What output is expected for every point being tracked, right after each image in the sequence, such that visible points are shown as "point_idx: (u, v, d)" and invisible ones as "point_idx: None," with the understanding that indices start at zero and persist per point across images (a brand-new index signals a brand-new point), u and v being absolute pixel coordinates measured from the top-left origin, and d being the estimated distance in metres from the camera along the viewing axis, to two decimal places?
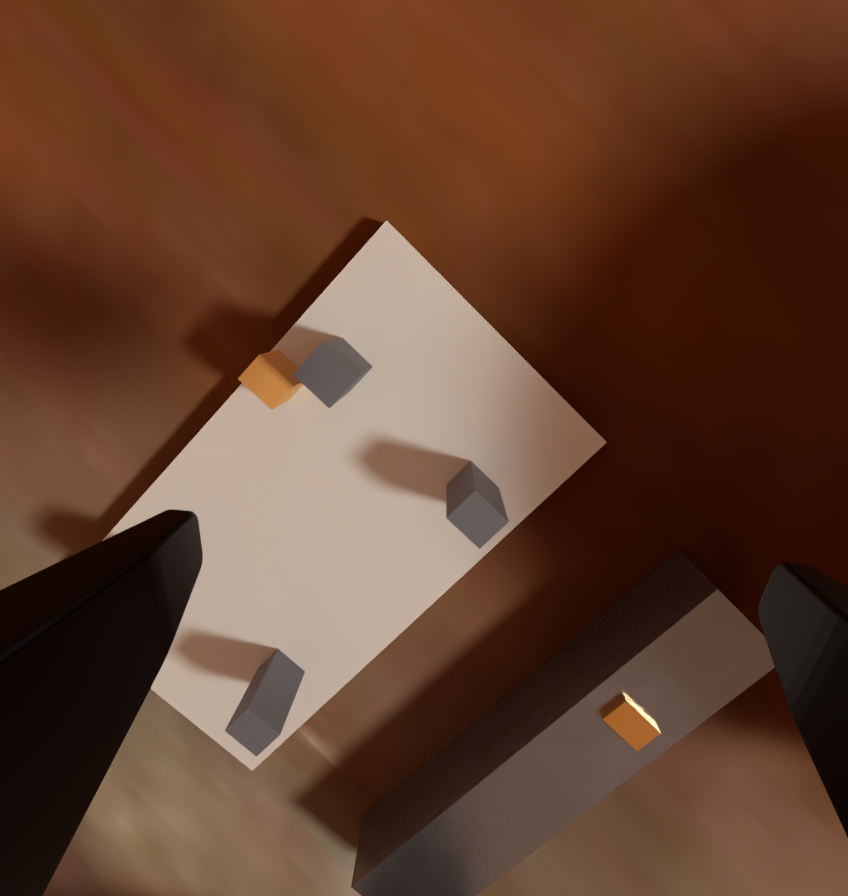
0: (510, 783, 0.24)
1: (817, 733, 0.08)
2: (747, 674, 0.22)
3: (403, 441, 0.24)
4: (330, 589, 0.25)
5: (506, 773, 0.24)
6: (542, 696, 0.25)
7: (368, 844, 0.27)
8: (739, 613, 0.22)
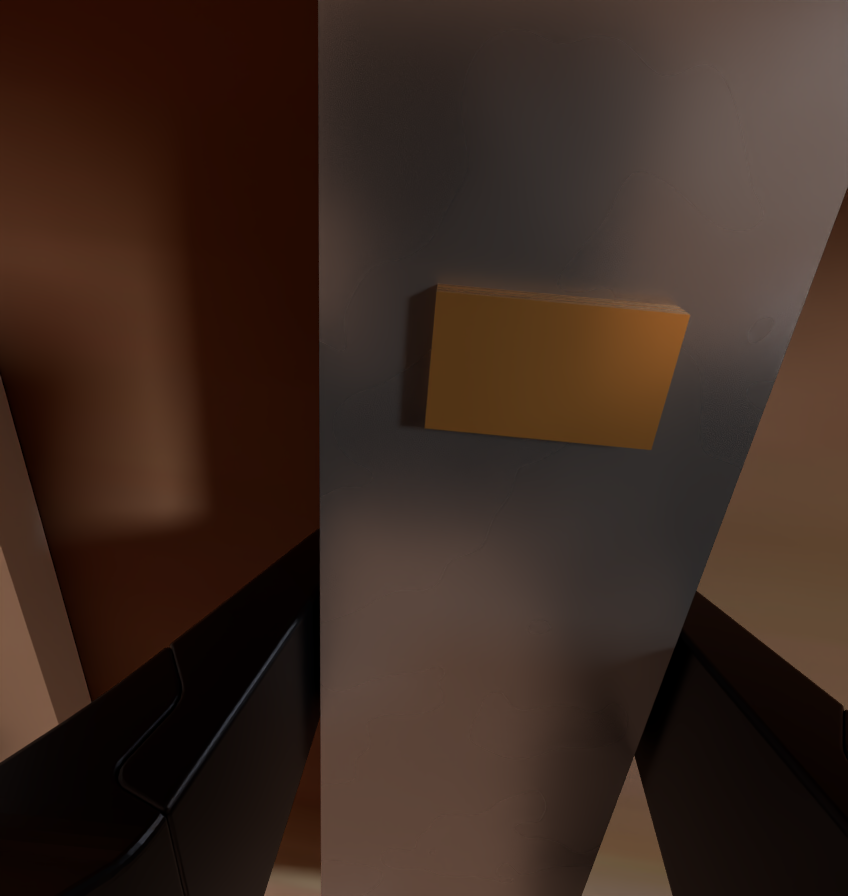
0: (387, 747, 0.08)
1: None
2: None
3: None
4: None
5: (354, 734, 0.08)
6: None
7: None
8: None
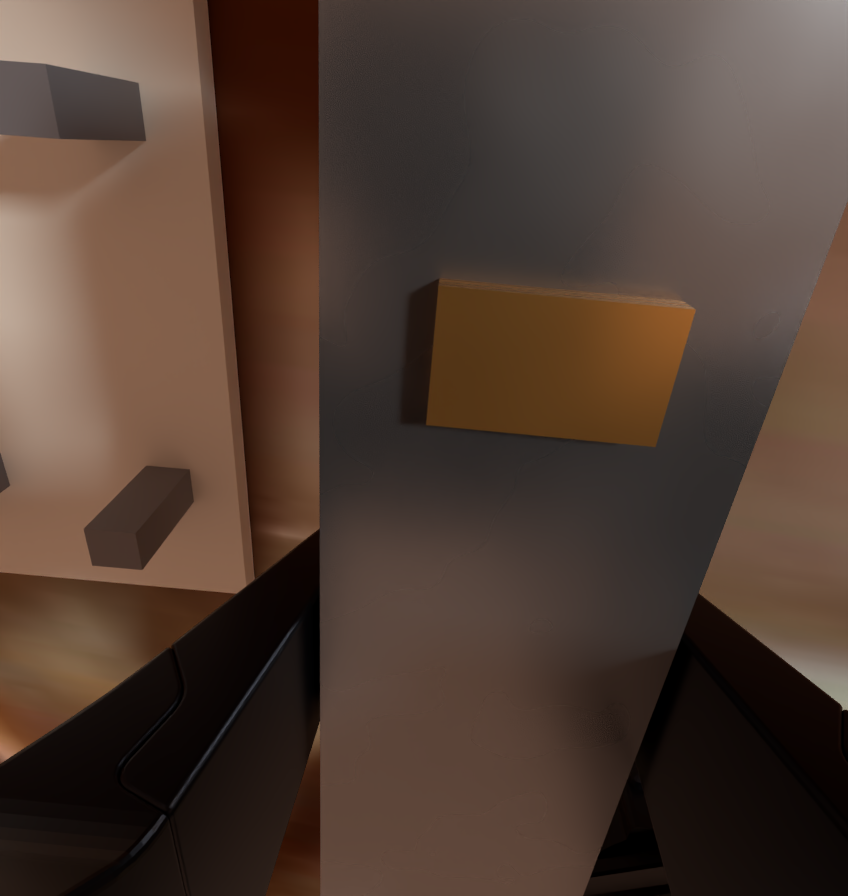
0: (387, 747, 0.08)
1: None
2: None
3: None
4: (121, 366, 0.20)
5: (355, 734, 0.07)
6: None
7: None
8: None
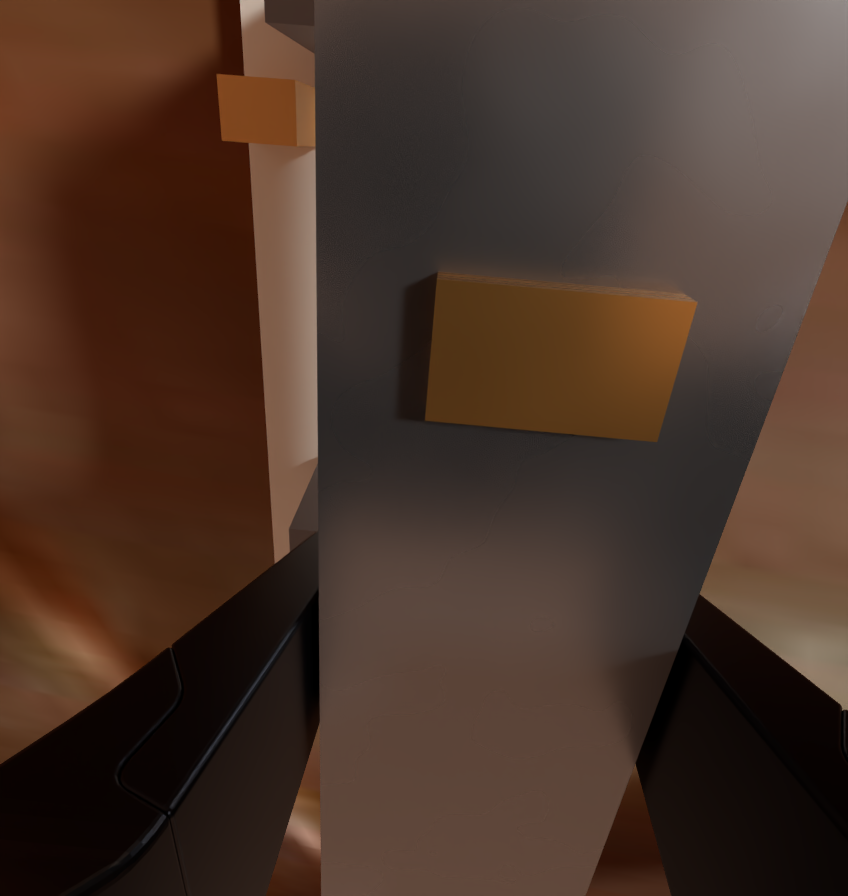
0: (388, 747, 0.08)
1: None
2: None
3: None
4: None
5: (355, 734, 0.07)
6: None
7: None
8: None
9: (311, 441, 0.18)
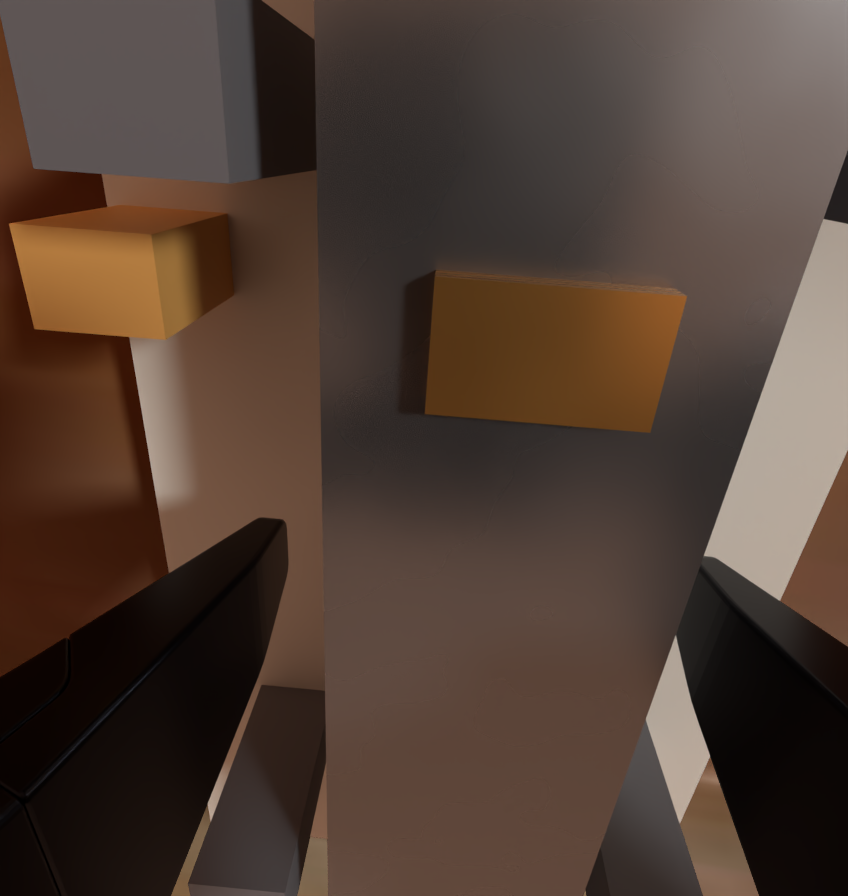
0: (392, 736, 0.08)
1: (712, 723, 0.08)
2: None
3: None
4: None
5: (359, 723, 0.08)
6: None
7: None
8: None
9: None
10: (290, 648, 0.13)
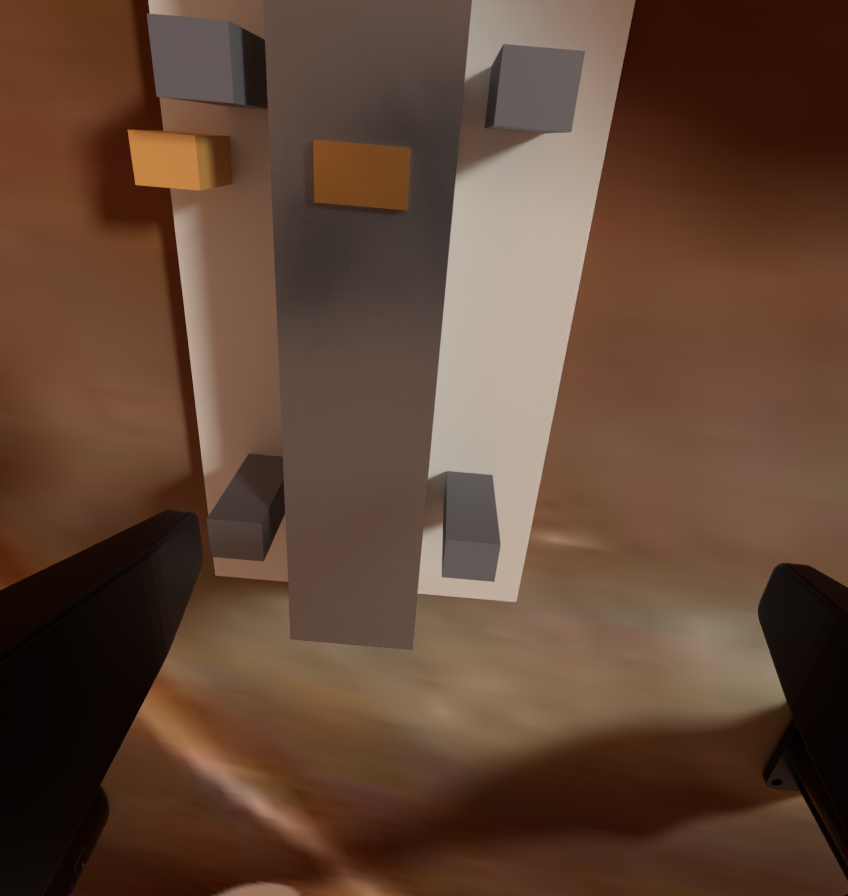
0: (314, 398, 0.15)
1: (817, 733, 0.08)
2: None
3: None
4: (450, 369, 0.19)
5: (297, 391, 0.15)
6: None
7: None
8: None
9: (239, 441, 0.20)
10: (266, 424, 0.20)
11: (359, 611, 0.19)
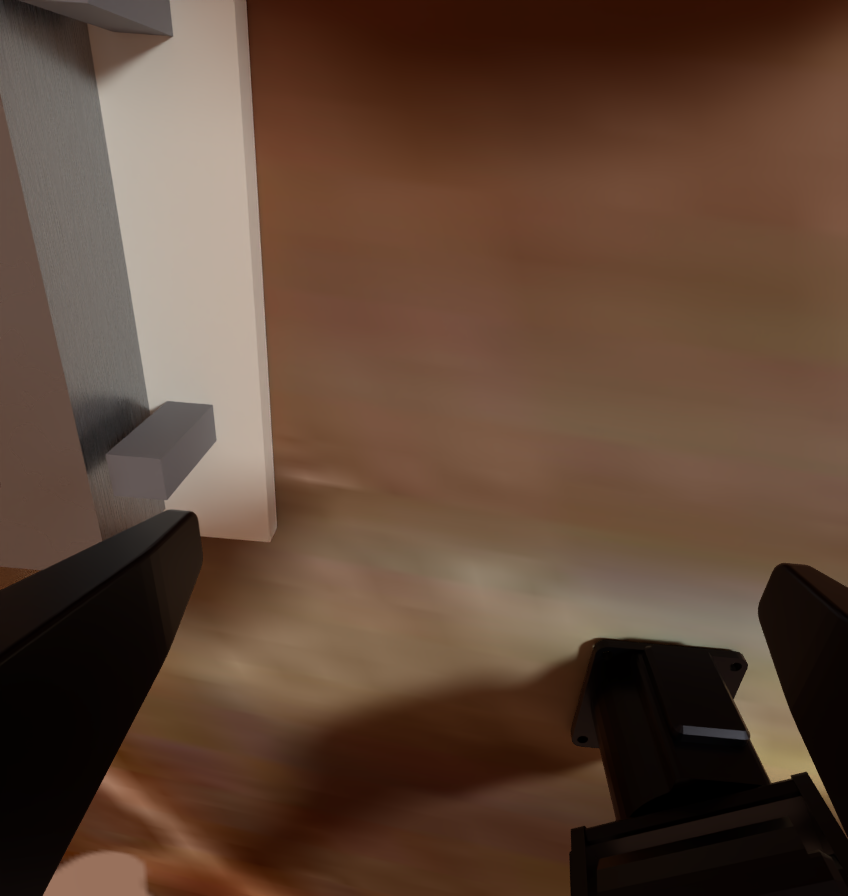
0: None
1: (817, 733, 0.08)
2: None
3: None
4: (143, 291, 0.19)
5: None
6: None
7: None
8: None
9: None
10: None
11: (46, 534, 0.18)
